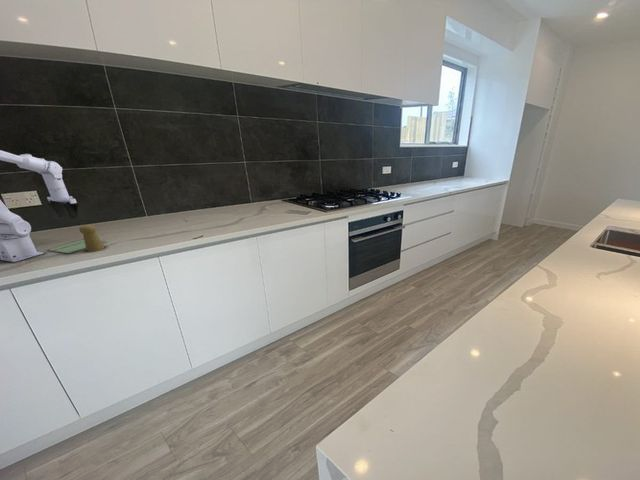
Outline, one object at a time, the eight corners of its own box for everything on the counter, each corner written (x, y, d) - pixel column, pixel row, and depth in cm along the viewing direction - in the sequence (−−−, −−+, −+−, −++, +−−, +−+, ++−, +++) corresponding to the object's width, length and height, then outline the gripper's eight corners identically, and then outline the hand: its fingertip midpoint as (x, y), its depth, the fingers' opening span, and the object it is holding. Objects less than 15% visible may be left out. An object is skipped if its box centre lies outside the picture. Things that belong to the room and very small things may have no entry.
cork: (88, 252, 130) (78, 228, 125) (84, 249, 133) (75, 225, 128) (106, 248, 134) (97, 225, 130) (102, 245, 137) (93, 222, 133)
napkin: (68, 253, 128) (68, 252, 128) (48, 250, 131) (47, 249, 130) (103, 242, 141) (103, 241, 140) (84, 239, 143) (83, 238, 143)
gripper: (79, 187, 138) (89, 216, 143) (55, 185, 141) (67, 213, 146) (60, 190, 131) (72, 220, 137) (36, 188, 134) (49, 217, 140)
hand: (68, 217), depth 141 cm, fingers open, 7 cm apart
